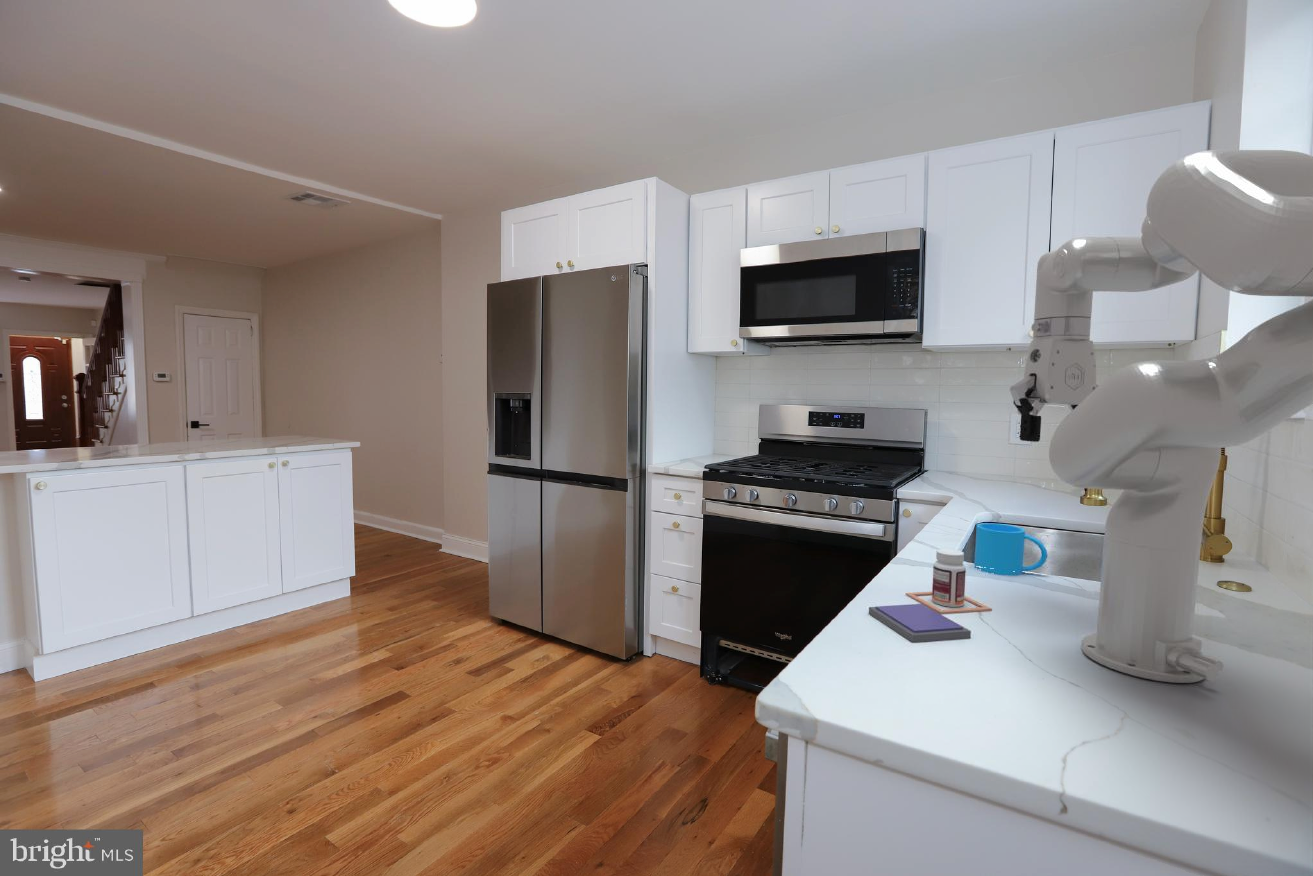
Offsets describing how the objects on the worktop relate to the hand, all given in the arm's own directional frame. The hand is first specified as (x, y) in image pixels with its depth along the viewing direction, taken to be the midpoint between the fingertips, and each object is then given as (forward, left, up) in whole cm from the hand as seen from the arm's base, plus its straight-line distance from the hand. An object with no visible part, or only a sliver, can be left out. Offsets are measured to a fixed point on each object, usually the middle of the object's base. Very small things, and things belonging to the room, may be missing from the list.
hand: (1054, 440), depth 100 cm
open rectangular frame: (+3, +15, -26) cm, 31 cm away
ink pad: (-5, +26, -26) cm, 37 cm away
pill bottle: (+3, +15, -27) cm, 31 cm away
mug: (+17, -9, -27) cm, 33 cm away
